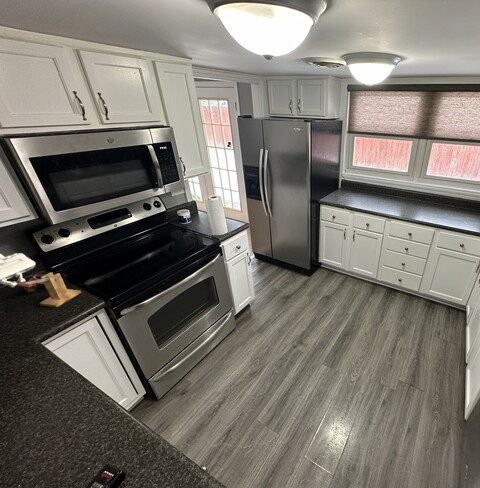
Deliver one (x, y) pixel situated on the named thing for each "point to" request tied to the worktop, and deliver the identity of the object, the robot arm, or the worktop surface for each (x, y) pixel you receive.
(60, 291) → the bracket
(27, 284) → the lever
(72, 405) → the worktop surface
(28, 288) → the pottery mug
